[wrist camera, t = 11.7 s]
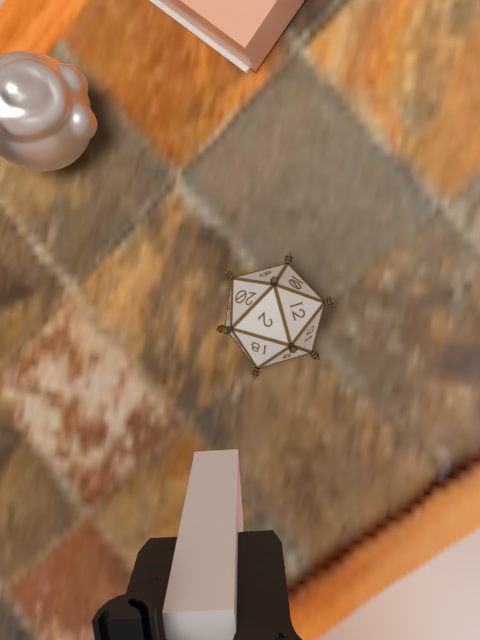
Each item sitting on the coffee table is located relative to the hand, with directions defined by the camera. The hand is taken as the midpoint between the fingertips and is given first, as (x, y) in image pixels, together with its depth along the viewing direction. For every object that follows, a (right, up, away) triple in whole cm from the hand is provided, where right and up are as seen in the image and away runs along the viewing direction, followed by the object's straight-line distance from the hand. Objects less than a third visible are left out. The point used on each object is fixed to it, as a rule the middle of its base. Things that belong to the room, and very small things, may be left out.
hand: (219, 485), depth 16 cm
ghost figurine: (-14, +23, +25) cm, 37 cm away
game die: (+4, +7, +23) cm, 24 cm away
